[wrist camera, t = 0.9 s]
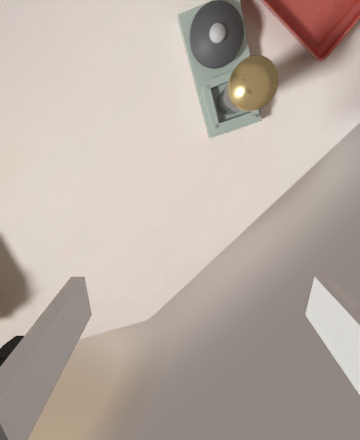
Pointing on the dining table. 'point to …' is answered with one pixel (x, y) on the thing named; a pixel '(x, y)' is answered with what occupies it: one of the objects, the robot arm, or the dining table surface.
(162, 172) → the dining table surface
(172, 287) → the dining table surface
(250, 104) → the pin
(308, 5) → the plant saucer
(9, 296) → the dining table surface
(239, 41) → the base
